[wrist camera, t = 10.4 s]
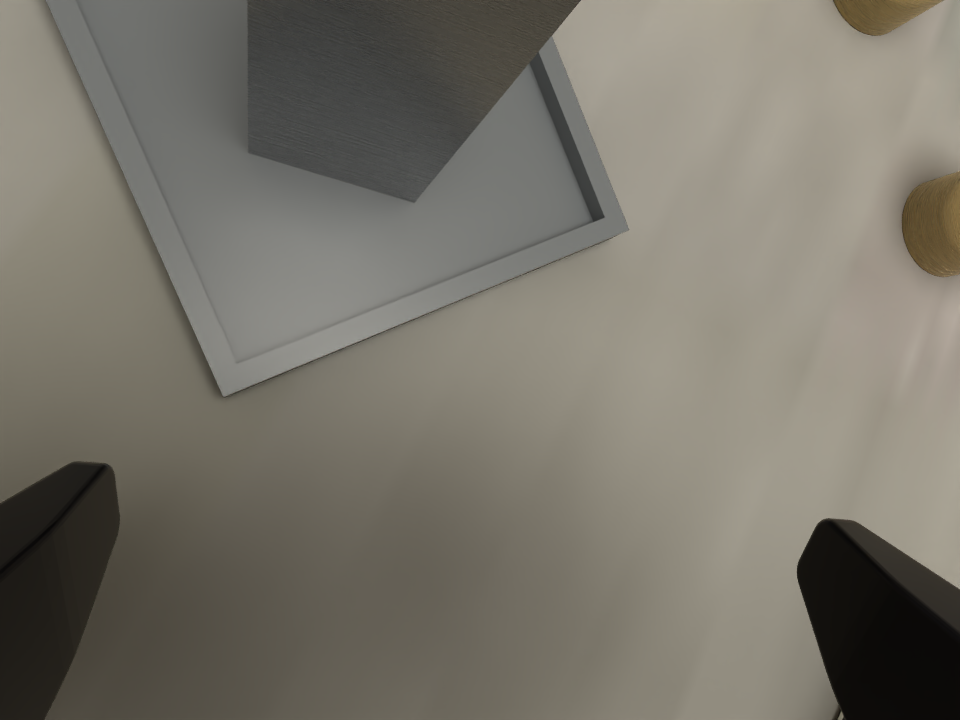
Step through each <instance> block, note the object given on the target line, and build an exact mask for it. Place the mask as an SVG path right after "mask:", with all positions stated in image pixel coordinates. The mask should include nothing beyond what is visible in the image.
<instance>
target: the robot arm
mask: <svg viewBox="0 0 960 720" xmlns="http://www.w3.org/2000/svg"><path fill="white" fill-rule="evenodd" d="M119 524H120V514H119V506H118V498H117V490H116V481H115V474H114V471H113V469H112V467H111V466H110V465H108V464H106V463H95V462H82V461H77V462H72V463H70V464H67V465H66V466H64V467H62V468H60V469H59V470H57V471H55V472H53V473H52V474H50V475H48V476H47V477H45V478H43V479H41V480H40V481H38V482H36V483H34V484H33V485H31V486H29V487H28V488H26V489H24V490H22V491H21V492H19V493H17V494H15V495H14V496H12V497H10V498H9V499H7V500H5V501H3V502H2V503H0V720H44V719H45V717H46V715H47V713H48V711H49V709H50V707H51V705H52V703H53V701H54V699H55V697H56V695H57V693H58V691H59V689H60V687H61V684H62V682H63V680H64V678H65V676H66V674H67V672H68V670H69V667H70V665H71V663H72V661H73V658H74V656H75V654H76V651H77V648H78V646H79V643H80V641H81V638H82V635H83V632H84V630H85V627H86V624H87V621H88V618H89V615H90V612H91V610H92V607H93V604H94V601H95V598H96V595H97V593H98V590H99V587H100V584H101V581H102V578H103V575H104V573H105V570H106V567H107V564H108V561H109V558H110V556H111V553H112V550H113V547H114V544H115V541H116V538H117V535H118V531H119ZM797 579H798V583H799V586H800V589H801V593H802V596H803V599H804V602H805V605H806V608H807V612H808V615H809V618H810V621H811V624H812V628H813V631H814V634H815V637H816V640H817V643H818V647H819V650H820V653H821V656H822V659H823V663H824V666H825V669H826V672H827V675H828V678H829V681H830V683H831V686H832V689H833V692H834V694H835V697H836V699H837V702H838V704H839V707H840V709H841V711H842V714H843V716H844V719H845V720H960V589H958V588H957V587H955V586H954V585H952V584H951V583H949V582H948V581H946V580H945V579H943V578H941V577H940V576H938V575H937V574H935V573H934V572H932V571H931V570H929V569H928V568H926V567H925V566H923V565H922V564H920V563H919V562H917V561H915V560H914V559H912V558H911V557H909V556H908V555H906V554H905V553H903V552H902V551H900V550H899V549H897V548H896V547H894V546H893V545H891V544H889V543H888V542H886V541H885V540H883V539H882V538H880V537H879V536H877V535H876V534H874V533H873V532H871V531H870V530H868V529H867V528H865V527H864V526H862V525H860V524H859V523H857V522H855V521H852V520H844V519H831V518H827V519H823V520H822V521H820V522H819V523H818V524H817V526H816V527H815V529H814V531H813V533H812V535H811V537H810V539H809V541H808V543H807V545H806V547H805V549H804V551H803V553H802V555H801V557H800V559H799V562H798V566H797Z"/></svg>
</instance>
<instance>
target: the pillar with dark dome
mask: <svg viewBox="0 0 960 720" xmlns="http://www.w3.org/2000/svg"><path fill="white" fill-rule="evenodd" d="M580 1H581V0H247V27H248V153H250V154H253V155H257V156H260V157H263V158H267V159H270V160H273V161H277V162H280V163H283V164H287V165H290V166H293V167H297V168H300V169H303V170H306V171H310V172H313V173H316V174H320V175H323V176H326V177H330V178H333V179H336V180H340V181H343V182H346V183H349V184H353V185H356V186H359V187H363V188H366V189H369V190H373V191H376V192H379V193H383V194H386V195H389V196H393V197H396V198H399V199H402V200H406V201H409V202H412V203H415V202H416V200H417V199H418V198H419V197H420V196H421V194H422V193H423V192H424V191H425V190H426V188H427V187H428V186H429V185H430V183H431V182H432V181H433V180H434V179H435V177H436V176H437V175H438V174H439V172H440V171H441V170H442V169H443V168H444V166H445V165H446V164H447V163H448V161H449V160H450V159H451V158H452V157H453V155H454V154H455V153H456V152H457V151H458V149H459V148H460V147H461V146H462V144H463V143H464V142H465V141H466V140H467V138H468V137H469V136H470V135H471V133H472V132H473V131H474V130H475V129H476V127H477V126H478V125H479V124H480V122H481V121H482V120H483V119H484V118H485V116H486V115H487V114H488V113H489V112H490V110H491V109H492V108H493V107H494V105H495V104H496V103H497V102H498V101H499V99H500V98H501V97H502V96H503V94H504V93H505V92H506V91H507V90H508V88H509V87H510V86H511V85H512V84H513V82H514V81H515V80H516V79H517V77H518V76H519V75H520V74H521V73H522V71H523V70H524V69H525V68H526V66H527V65H528V64H529V63H530V62H531V60H532V59H533V58H534V57H535V55H536V54H537V53H538V52H539V51H540V49H541V48H542V47H543V46H544V45H545V43H546V42H547V41H548V40H549V38H550V37H551V36H552V35H553V34H554V32H555V31H556V30H557V29H558V27H559V26H560V25H561V24H562V23H563V21H564V20H565V19H566V18H567V16H568V15H569V14H570V13H571V12H572V10H573V9H574V8H575V7H576V6H577V4H578V3H579V2H580Z"/></svg>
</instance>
